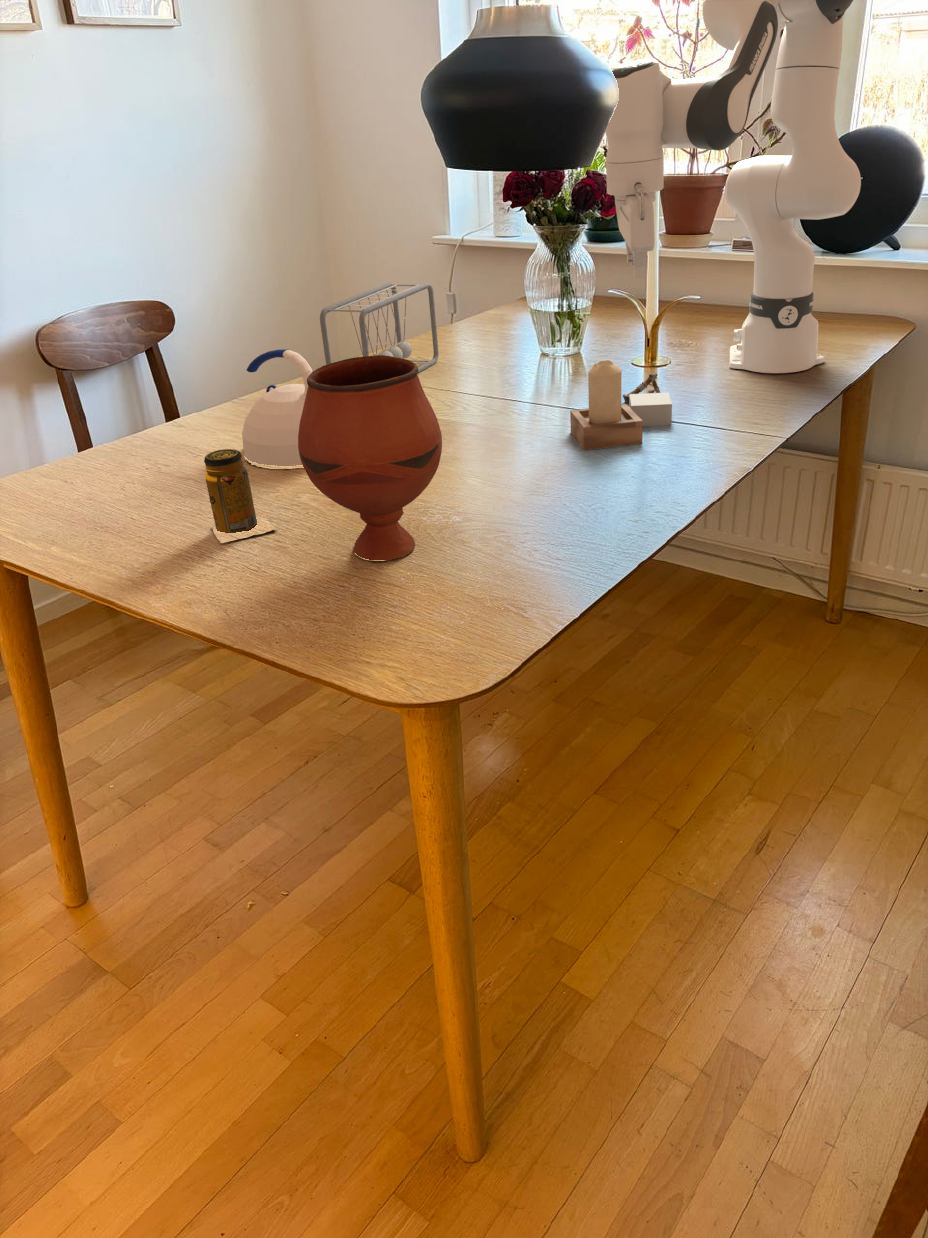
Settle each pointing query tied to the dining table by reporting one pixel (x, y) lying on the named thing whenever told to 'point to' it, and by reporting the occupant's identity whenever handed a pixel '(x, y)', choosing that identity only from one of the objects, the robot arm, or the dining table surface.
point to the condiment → (229, 491)
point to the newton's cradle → (402, 347)
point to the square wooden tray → (606, 429)
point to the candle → (604, 392)
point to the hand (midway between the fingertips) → (636, 270)
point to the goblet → (370, 445)
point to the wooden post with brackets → (645, 386)
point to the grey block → (652, 408)
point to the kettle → (276, 416)
